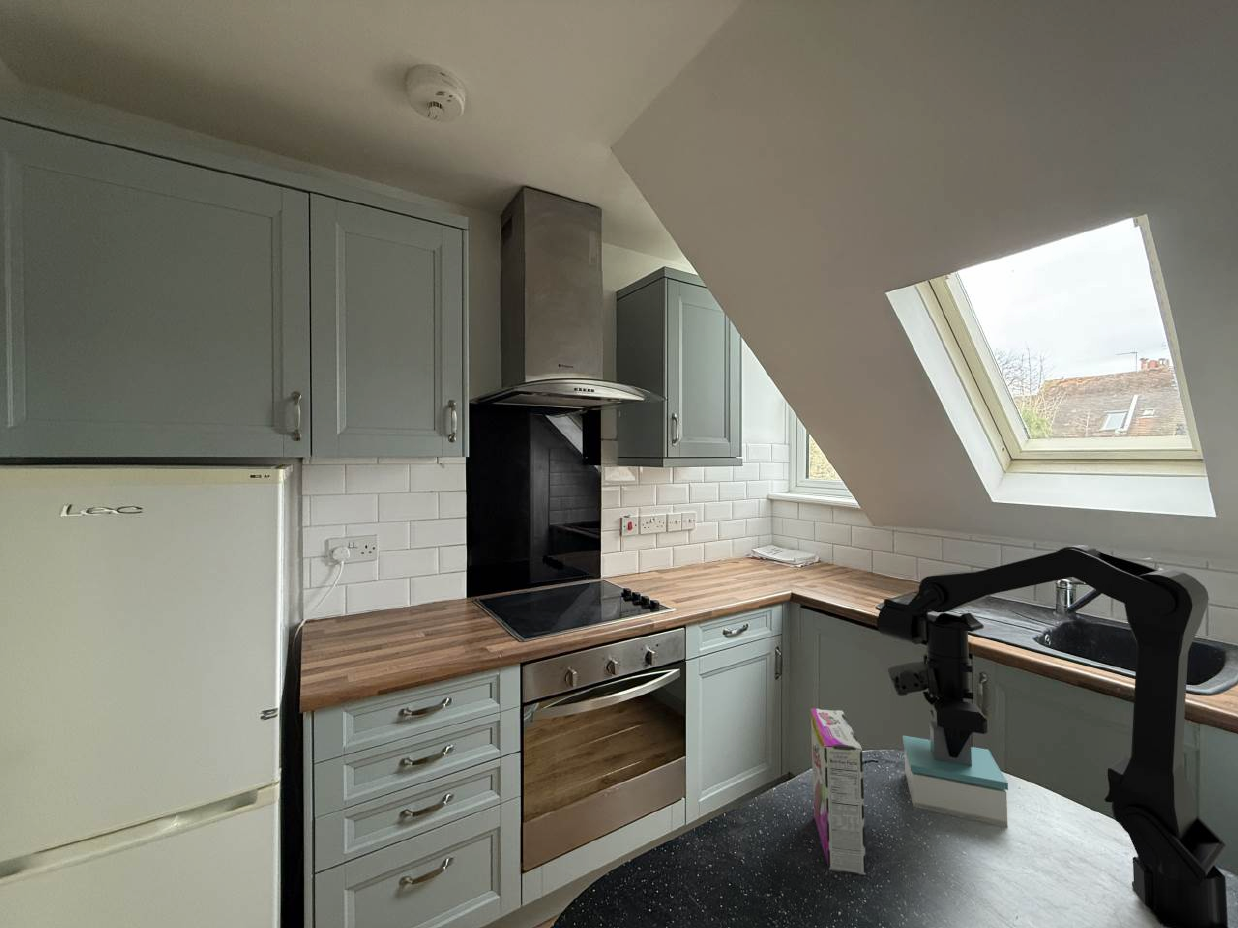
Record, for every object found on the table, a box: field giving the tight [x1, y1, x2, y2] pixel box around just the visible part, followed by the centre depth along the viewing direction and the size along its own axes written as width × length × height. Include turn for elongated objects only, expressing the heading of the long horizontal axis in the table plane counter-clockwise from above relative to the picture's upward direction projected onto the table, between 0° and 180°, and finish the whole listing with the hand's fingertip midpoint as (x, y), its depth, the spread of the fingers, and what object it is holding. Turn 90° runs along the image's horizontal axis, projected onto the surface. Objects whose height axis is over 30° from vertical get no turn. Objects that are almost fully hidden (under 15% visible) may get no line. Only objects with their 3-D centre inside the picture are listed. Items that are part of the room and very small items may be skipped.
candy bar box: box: [810, 707, 867, 876], centre depth 71 cm, size 11×5×16 cm, turn 168°
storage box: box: [904, 750, 1008, 828], centre depth 80 cm, size 12×10×5 cm
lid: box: [902, 720, 1009, 791], centre depth 80 cm, size 12×10×6 cm
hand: (950, 750), depth 80 cm, fingers closed on lid, 3 cm apart
